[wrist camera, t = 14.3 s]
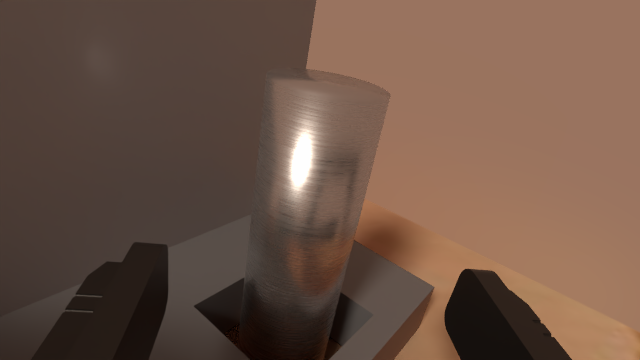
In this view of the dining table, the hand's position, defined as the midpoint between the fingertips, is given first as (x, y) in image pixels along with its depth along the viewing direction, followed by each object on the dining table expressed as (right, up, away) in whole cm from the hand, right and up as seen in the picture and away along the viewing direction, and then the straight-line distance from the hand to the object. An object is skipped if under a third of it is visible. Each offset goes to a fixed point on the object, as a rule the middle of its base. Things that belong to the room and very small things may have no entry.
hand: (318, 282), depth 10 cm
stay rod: (-2, -6, +7) cm, 9 cm away
